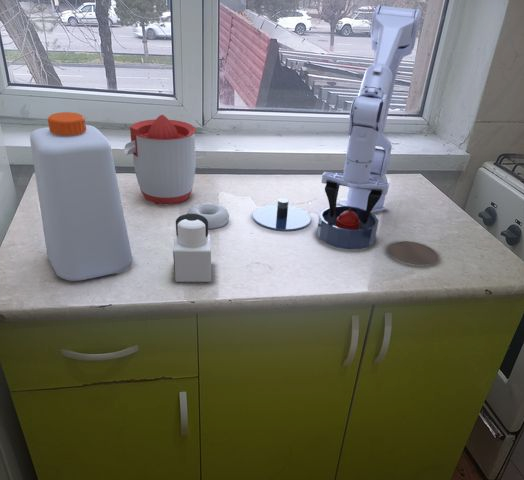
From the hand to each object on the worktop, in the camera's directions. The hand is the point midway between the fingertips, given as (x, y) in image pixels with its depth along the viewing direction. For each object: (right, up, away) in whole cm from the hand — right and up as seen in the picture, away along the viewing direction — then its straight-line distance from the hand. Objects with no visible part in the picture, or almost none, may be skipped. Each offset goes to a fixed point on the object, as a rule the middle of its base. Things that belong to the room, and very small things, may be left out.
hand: (348, 218), depth 117 cm
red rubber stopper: (0, -3, +3) cm, 4 cm away
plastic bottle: (-55, -12, -12) cm, 58 cm away
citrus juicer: (-45, +9, +15) cm, 49 cm away
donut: (-33, 0, +5) cm, 33 cm away
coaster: (+14, -9, -1) cm, 16 cm away
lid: (-15, +2, +8) cm, 17 cm away
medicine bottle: (-34, -15, -13) cm, 39 cm away
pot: (0, -4, +3) cm, 5 cm away
